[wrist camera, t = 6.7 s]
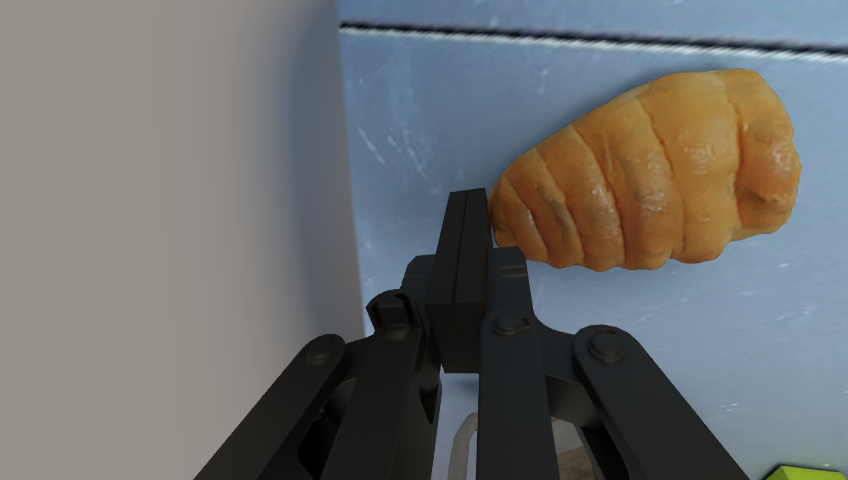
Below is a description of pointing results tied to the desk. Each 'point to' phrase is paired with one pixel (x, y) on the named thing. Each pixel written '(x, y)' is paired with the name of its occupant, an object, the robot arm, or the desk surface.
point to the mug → (570, 451)
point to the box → (804, 474)
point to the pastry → (654, 176)
